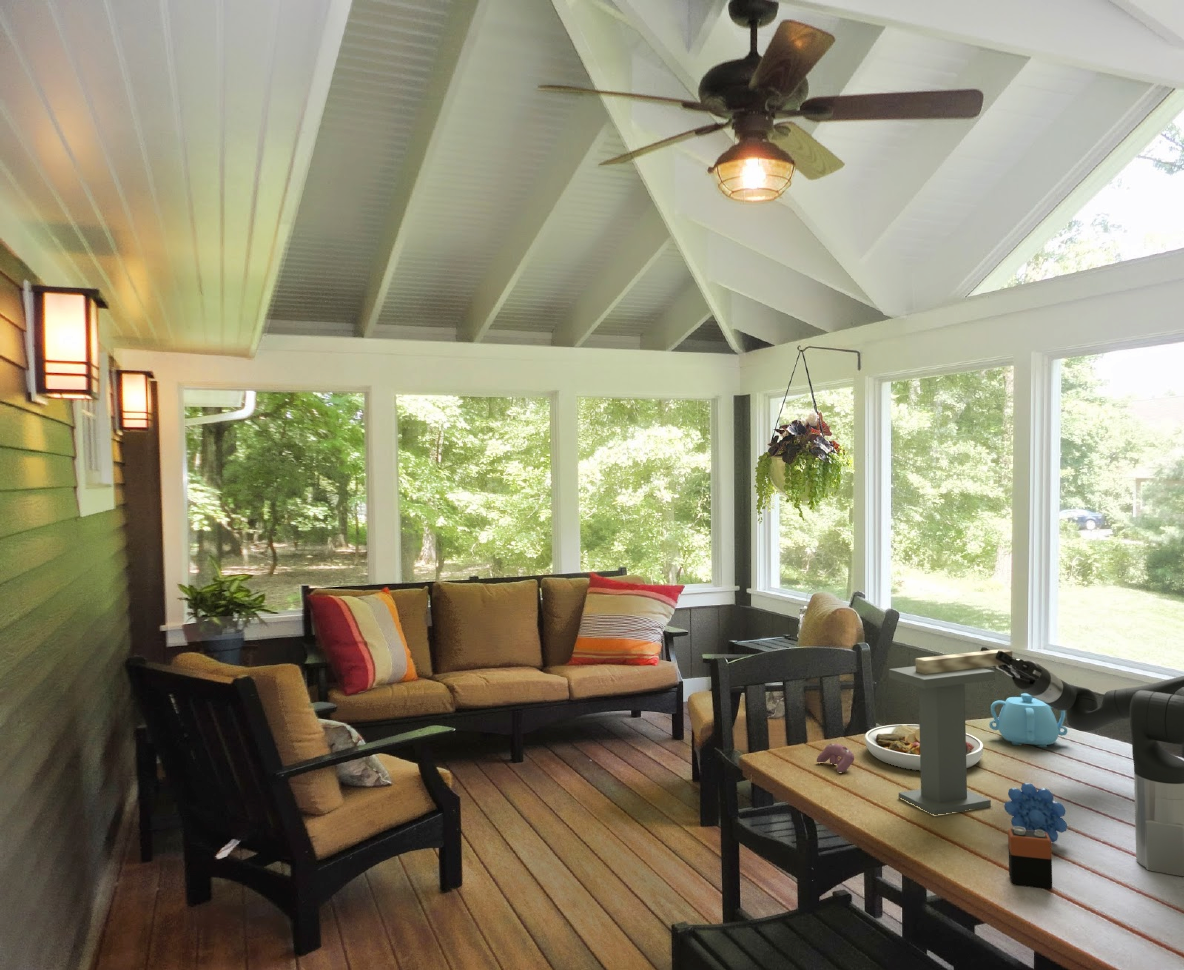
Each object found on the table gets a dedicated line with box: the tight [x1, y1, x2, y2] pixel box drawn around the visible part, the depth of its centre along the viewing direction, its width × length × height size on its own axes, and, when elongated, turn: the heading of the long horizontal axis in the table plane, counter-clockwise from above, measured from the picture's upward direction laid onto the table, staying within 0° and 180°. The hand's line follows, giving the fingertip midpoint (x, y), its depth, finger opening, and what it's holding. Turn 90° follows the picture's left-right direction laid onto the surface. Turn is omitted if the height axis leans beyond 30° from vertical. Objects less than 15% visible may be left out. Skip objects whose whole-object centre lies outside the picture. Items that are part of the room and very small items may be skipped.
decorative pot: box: [989, 692, 1068, 748], centre depth 245 cm, size 16×16×14 cm
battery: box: [1007, 826, 1053, 890], centre depth 160 cm, size 4×7×10 cm, turn 71°
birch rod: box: [915, 648, 1013, 674], centre depth 202 cm, size 26×3×3 cm, turn 110°
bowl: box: [864, 723, 984, 772], centre depth 233 cm, size 30×30×8 cm
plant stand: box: [888, 665, 996, 815], centre depth 200 cm, size 20×12×31 cm, turn 110°
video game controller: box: [816, 743, 855, 773], centre depth 226 cm, size 10×5×7 cm, turn 23°
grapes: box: [1003, 782, 1068, 843], centre depth 177 cm, size 12×7×12 cm, turn 68°
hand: (989, 652), depth 205 cm, fingers open, 4 cm apart
